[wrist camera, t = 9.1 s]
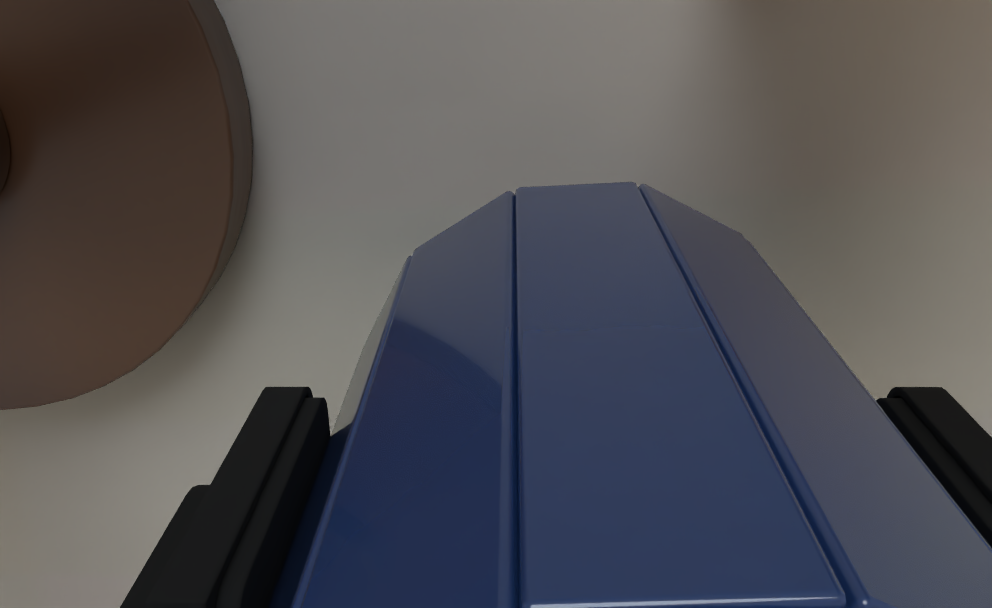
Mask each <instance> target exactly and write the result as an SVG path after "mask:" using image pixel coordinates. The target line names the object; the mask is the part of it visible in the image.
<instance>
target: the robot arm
mask: <svg viewBox="0 0 992 608" xmlns="http://www.w3.org/2000/svg"><path fill="white" fill-rule="evenodd" d="M876 402H877V403H878V404H879V406H880V407H881V408H882V409H883V411H884V412H885V413H886V414H887V416H888V417H889V418H890V420H891V421H892V422H893V423H894V425H895V426H896V427H897V428H898V430H899V431H900V432H901V433H902V435H903V436H904V437H905V439H906V440H907V441H908V442H909V444H910V445H911V446H912V447H913V449H914V450H915V451H916V452H917V454H918V455H919V456H920V457H921V459H922V460H923V461H924V463H925V464H926V465H927V466H928V468H929V469H930V470H931V471H932V473H933V474H934V475H935V476H936V478H937V479H938V480H939V481H940V483H941V484H942V485H943V487H944V488H945V489H946V490H947V492H948V493H949V494H950V495H951V497H952V498H953V499H954V500H955V502H956V503H957V504H958V505H959V507H960V508H961V509H962V511H963V512H964V513H965V514H966V516H967V517H968V518H969V519H970V521H971V522H972V523H973V524H974V526H975V527H976V528H977V529H978V531H979V532H980V533H981V535H982V536H983V537H984V538H985V540H986V541H987V542H988V543H989V545H990V546H991V547H992V438H991V436H990V435H989V434H988V433H987V432H986V431H985V430H984V429H983V428H982V427H981V426H980V425H979V424H978V423H977V422H976V421H975V420H974V419H973V418H972V417H971V416H970V415H969V414H968V413H967V412H966V411H965V409H964V408H963V407H962V406H961V405H960V404H959V403H958V402H957V401H956V400H955V399H954V398H953V397H952V396H951V395H950V394H949V393H948V392H947V391H946V390H945V389H943V388H942V387H894V388H893V389H892V390H891V391H890V392H889V394H888V396H887V398H879V399H878V400H877V401H876ZM329 439H330V428H329V418H328V408H327V403H326V400H325V398H313V395H312V392H311V389H310V388H309V387H265V388H264V390H263V391H262V393H261V395H260V396H259V398H258V400H257V402H256V404H255V405H254V407H253V409H252V411H251V413H250V414H249V416H248V418H247V420H246V422H245V423H244V425H243V427H242V429H241V431H240V432H239V434H238V436H237V438H236V440H235V441H234V443H233V445H232V447H231V449H230V450H229V452H228V454H227V456H226V458H225V459H224V461H223V463H222V465H221V467H220V468H219V470H218V472H217V474H216V476H215V477H214V479H213V481H212V483H211V485H197V486H195V487H192V488H191V490H190V491H189V492H188V493H187V495H186V496H185V498H184V500H183V501H182V503H181V505H180V506H179V508H178V510H177V511H176V513H175V515H174V517H173V518H172V520H171V522H170V523H169V525H168V527H167V528H166V530H165V532H164V533H163V535H162V537H161V539H160V540H159V542H158V544H157V545H156V547H155V549H154V550H153V552H152V554H151V556H150V557H149V559H148V561H147V562H146V564H145V566H144V567H143V569H142V571H141V573H140V574H139V576H138V578H137V579H136V581H135V583H134V584H133V586H132V588H131V590H130V591H129V593H128V595H127V596H126V598H125V600H124V601H123V603H122V605H121V606H120V608H267V607H268V605H269V602H270V599H271V596H272V594H273V591H274V588H275V586H276V583H277V580H278V577H279V575H280V572H281V569H282V567H283V564H284V561H285V558H286V556H287V553H288V550H289V548H290V545H291V542H292V539H293V537H294V534H295V531H296V529H297V526H298V523H299V520H300V518H301V515H302V512H303V510H304V507H305V504H306V501H307V499H308V496H309V493H310V491H311V488H312V485H313V482H314V480H315V477H316V474H317V472H318V469H319V466H320V463H321V461H322V458H323V455H324V453H325V450H326V447H327V444H328V442H329Z"/></svg>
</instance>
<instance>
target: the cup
mask: <svg viewBox="0 0 992 608" xmlns="http://www.w3.org/2000/svg"><path fill="white" fill-rule="evenodd" d="M267 608H992V547H991V546H990V545H989V543H988V542H987V541H986V540H985V538H984V537H983V536H982V535H981V533H980V532H979V531H978V529H977V528H976V527H975V526H974V524H973V523H972V522H971V521H970V519H969V518H968V517H967V516H966V514H965V513H964V512H963V511H962V509H961V508H960V507H959V505H958V504H957V503H956V502H955V500H954V499H953V498H952V497H951V495H950V494H949V493H948V492H947V490H946V489H945V488H944V487H943V485H942V484H941V483H940V481H939V480H938V479H937V478H936V476H935V475H934V474H933V473H932V471H931V470H930V469H929V468H928V466H927V465H926V464H925V463H924V461H923V460H922V459H921V457H920V456H919V455H918V454H917V452H916V451H915V450H914V449H913V447H912V446H911V445H910V444H909V442H908V441H907V440H906V439H905V437H904V436H903V435H902V433H901V432H900V431H899V430H898V428H897V427H896V426H895V425H894V423H893V422H892V421H891V420H890V418H889V417H888V416H887V414H886V413H885V412H884V411H883V409H882V408H881V407H880V406H879V404H878V403H877V402H876V401H875V399H874V398H873V397H872V396H871V394H870V393H869V392H868V390H867V389H866V388H865V387H864V385H863V384H862V383H861V382H860V380H859V379H858V378H857V377H856V375H855V374H854V373H853V372H852V370H851V369H850V368H849V366H848V365H847V364H846V363H845V361H844V360H843V359H842V358H841V356H840V355H839V354H838V353H837V351H836V350H835V349H834V348H833V346H832V345H831V344H830V342H829V341H828V340H827V339H826V337H825V336H824V335H823V334H822V332H821V331H820V330H819V329H818V327H817V326H816V325H815V324H814V322H813V321H812V320H811V318H810V317H809V316H808V315H807V313H806V312H805V311H804V310H803V308H802V307H801V306H800V305H799V303H798V302H797V301H796V300H795V298H794V297H793V296H792V294H791V293H790V292H789V291H788V289H787V288H786V287H785V286H784V284H783V283H782V282H781V281H780V279H779V278H778V277H777V275H776V274H775V273H774V272H773V270H772V269H771V268H770V267H769V265H768V264H767V263H766V262H765V260H764V259H763V258H762V257H761V255H760V254H759V253H758V251H757V250H756V249H755V248H754V246H753V245H752V244H751V243H750V242H749V241H748V240H746V239H745V238H744V236H743V235H742V234H741V233H739V232H737V231H735V230H733V229H731V228H730V227H728V226H726V225H724V224H722V223H720V222H718V221H716V220H714V219H712V218H710V217H708V216H706V215H704V214H702V213H700V212H698V211H696V210H694V209H692V208H691V207H689V206H687V205H685V204H683V203H681V202H679V201H677V200H675V199H673V198H671V197H669V196H667V195H665V194H663V193H661V192H659V191H657V190H655V189H654V188H652V187H650V186H648V185H646V184H641V185H640V186H639V187H638V186H637V184H636V183H634V182H618V183H598V184H578V185H558V186H538V187H520V188H518V189H516V191H515V195H514V193H513V192H511V191H507V192H505V193H504V194H502V195H500V196H499V197H497V198H496V199H494V200H492V201H491V202H489V203H488V204H486V205H484V206H483V207H481V208H480V209H478V210H477V211H475V212H473V213H472V214H470V215H469V216H467V217H465V218H464V219H462V220H461V221H459V222H457V223H456V224H454V225H453V226H451V227H450V228H448V229H446V230H445V231H443V232H442V233H440V234H438V235H437V236H435V237H434V238H432V239H430V240H429V241H427V242H426V243H424V244H423V245H421V246H419V247H418V248H416V249H415V250H414V252H413V255H412V256H409V257H408V258H407V259H406V261H405V263H404V265H403V267H402V269H401V271H400V273H399V275H398V277H397V279H396V281H395V283H394V285H393V287H392V289H391V292H390V294H389V296H388V298H387V300H386V302H385V304H384V306H383V308H382V310H381V312H380V314H379V316H378V318H377V320H376V322H375V324H374V326H373V328H372V330H371V332H370V334H369V336H368V338H367V340H366V342H365V344H364V347H363V349H362V352H361V355H360V358H359V360H358V363H357V366H356V368H355V371H354V374H353V377H352V379H351V382H350V385H349V387H348V390H347V393H346V396H345V398H344V401H343V404H342V406H341V409H340V412H339V415H338V417H337V420H336V423H335V425H334V428H333V431H332V434H331V436H330V439H329V442H328V444H327V447H326V450H325V453H324V455H323V458H322V461H321V463H320V466H319V469H318V472H317V474H316V477H315V480H314V482H313V485H312V488H311V491H310V493H309V496H308V499H307V501H306V504H305V507H304V510H303V512H302V515H301V518H300V520H299V523H298V526H297V529H296V531H295V534H294V537H293V539H292V542H291V545H290V548H289V550H288V553H287V556H286V558H285V561H284V564H283V567H282V569H281V572H280V575H279V577H278V580H277V583H276V586H275V588H274V591H273V594H272V596H271V599H270V602H269V605H268V607H267Z"/></svg>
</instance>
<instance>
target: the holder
mask: <svg viewBox="0 0 992 608" xmlns="http://www.w3.org/2000/svg"><path fill="white" fill-rule="evenodd" d="M251 178H252V132H251V122H250V113H249V103H248V98H247V94H246V90H245V86H244V81H243V77H242V73H241V69H240V64H239V61H238V58H237V55H236V52H235V50H234V47H233V44H232V41H231V39H230V36H229V33H228V31H227V28H226V25H225V22H224V20H223V18H222V16H221V14H220V12H219V10H218V8H217V6H216V4H215V2H214V0H0V410H6V409H16V408H26V407H35V406H41V405H45V404H50V403H54V402H58V401H63V400H67V399H71V398H74V397H77V396H80V395H82V394H85V393H88V392H90V391H93V390H96V389H98V388H101V387H103V386H105V385H107V384H109V383H111V382H113V381H115V380H116V379H118V378H120V377H122V376H124V375H125V374H127V373H129V372H131V371H133V370H134V369H135V368H137V367H138V366H139V365H141V364H142V363H143V362H145V361H146V360H147V359H149V358H150V357H151V356H152V355H154V354H155V353H156V352H158V351H159V350H160V349H161V348H162V347H163V346H164V345H165V344H166V343H167V342H168V341H169V340H170V339H171V338H172V337H173V336H174V334H175V333H176V332H177V331H178V330H179V329H180V328H181V327H182V326H183V325H184V324H185V323H186V321H187V320H188V319H189V318H190V317H191V315H192V314H193V313H194V312H195V311H196V309H197V308H198V307H199V306H200V305H201V303H202V302H203V301H204V299H205V298H206V296H207V295H208V294H209V292H210V291H211V289H212V288H213V286H214V285H215V284H216V282H217V281H218V279H219V278H220V276H221V274H222V272H223V270H224V268H225V266H226V264H227V262H228V260H229V258H230V256H231V254H232V252H233V250H234V248H235V246H236V243H237V240H238V236H239V233H240V230H241V227H242V224H243V221H244V218H245V215H246V209H247V203H248V197H249V191H250V185H251Z"/></svg>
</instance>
